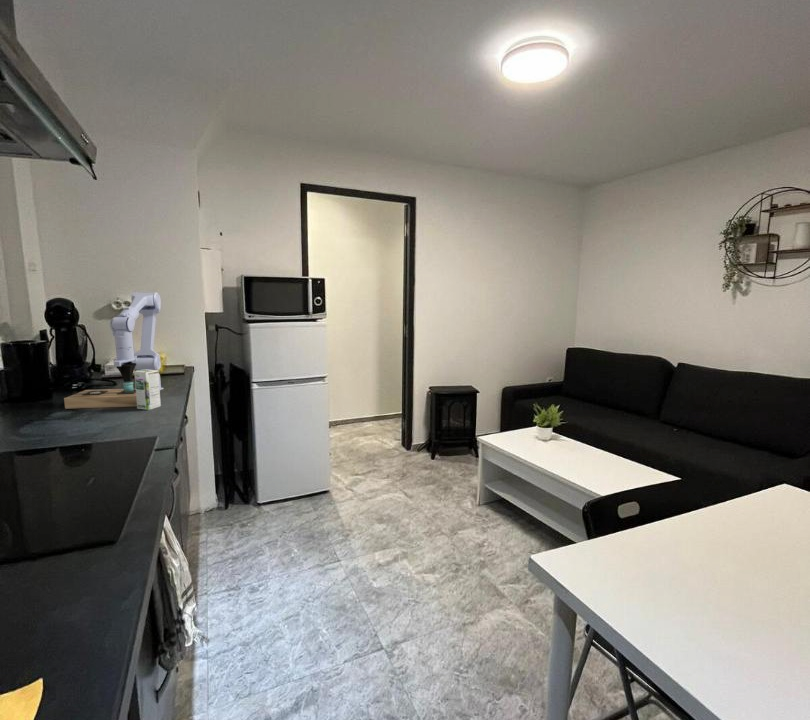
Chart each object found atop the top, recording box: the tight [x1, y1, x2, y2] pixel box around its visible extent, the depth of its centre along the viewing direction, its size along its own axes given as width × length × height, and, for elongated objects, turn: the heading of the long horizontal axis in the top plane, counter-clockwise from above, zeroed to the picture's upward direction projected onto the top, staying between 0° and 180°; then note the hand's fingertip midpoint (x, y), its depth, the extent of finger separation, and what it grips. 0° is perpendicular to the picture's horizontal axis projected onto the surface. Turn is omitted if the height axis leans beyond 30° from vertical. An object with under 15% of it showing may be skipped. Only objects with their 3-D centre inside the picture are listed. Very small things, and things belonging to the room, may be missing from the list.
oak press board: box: [63, 388, 137, 410], centre depth 163 cm, size 14×26×4 cm, turn 100°
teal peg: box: [122, 381, 135, 393], centre depth 163 cm, size 3×3×4 cm
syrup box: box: [133, 369, 162, 411], centre depth 155 cm, size 6×6×14 cm
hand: (127, 381), depth 163 cm, fingers closed
